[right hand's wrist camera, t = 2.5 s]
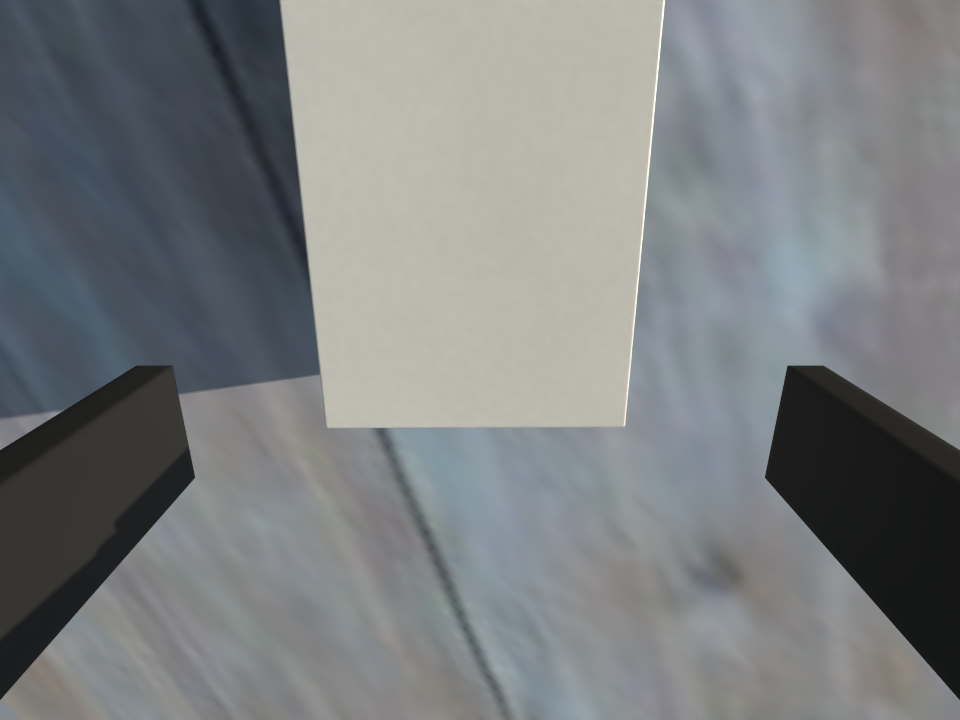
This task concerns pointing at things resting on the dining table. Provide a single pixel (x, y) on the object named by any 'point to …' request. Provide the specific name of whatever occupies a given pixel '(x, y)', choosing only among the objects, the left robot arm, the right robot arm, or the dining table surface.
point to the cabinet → (473, 204)
